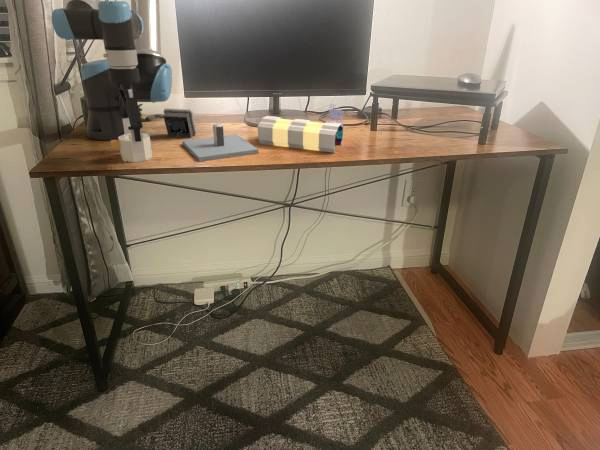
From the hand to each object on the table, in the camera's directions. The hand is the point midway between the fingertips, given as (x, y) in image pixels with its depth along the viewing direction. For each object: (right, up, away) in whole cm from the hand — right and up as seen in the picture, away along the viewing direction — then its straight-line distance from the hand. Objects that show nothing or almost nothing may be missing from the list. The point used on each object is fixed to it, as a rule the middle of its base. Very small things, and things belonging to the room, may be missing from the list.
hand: (134, 146), depth 125 cm
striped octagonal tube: (+47, +3, +17) cm, 50 cm away
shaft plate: (+22, +1, +11) cm, 24 cm away
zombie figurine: (-9, +17, +40) cm, 44 cm away
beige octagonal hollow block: (-1, -3, +2) cm, 3 cm away
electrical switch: (+7, +7, +22) cm, 24 cm away
